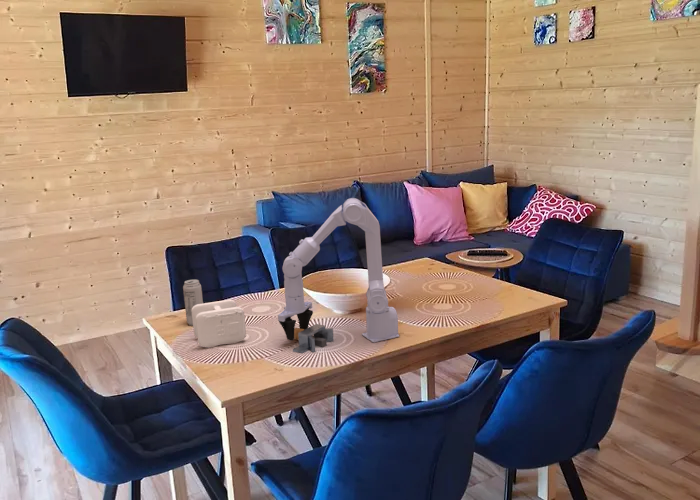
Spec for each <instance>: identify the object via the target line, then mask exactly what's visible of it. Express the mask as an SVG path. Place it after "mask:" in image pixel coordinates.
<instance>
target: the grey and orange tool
mask: <svg viewBox="0 0 700 500" xmlns="http://www.w3.org/2000/svg"><path fill="white" fill-rule="evenodd" d="M303 330H304V329H300V327H295V328H294V340H297V341H299V337H298V333H299V332H301V331H303ZM311 336H312V337H313V338H314V339H315V347H318V348H324V347H327V343H328V342H327V341H326V339H324V338H320V337H316V336H314V335H311Z"/></svg>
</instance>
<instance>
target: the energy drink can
mask: <svg viewBox="0 0 700 500" xmlns="http://www.w3.org/2000/svg"><path fill="white" fill-rule="evenodd" d="M182 289H183V291H182V292H183V301H184V308H185V309H184V310H185V317H186V318H185V319H186V323H187V324H188V325H189V326H192V327H193V320H192V311H191V310H192V307H193V306H195V305H197V304H203V303H204V301H203V290H202V285H201V283H200V280H199V279H188V280H185V281H184V284H183V286H182Z"/></svg>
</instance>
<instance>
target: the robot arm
mask: <svg viewBox="0 0 700 500" xmlns="http://www.w3.org/2000/svg"><path fill="white" fill-rule="evenodd" d="M379 222H380V221H379V220H378V219H377V217H376V216H375V215H374V214H373V212H372V210H370V209H369V207H368V206H367V204H366V203H365V202H363V201H361V200H360V199H358V198H355V197H350V198H348V199H345V200H344V203H343V204H341V205H339V206H338V207H337V208H336V209H335V210H334V211H333V212H331V214H330V215H329V217H328V218H327V219H326V220H325V221H324V223H323V224H322V225H321V226H320V227H319V228H318V230H316V232H315V233H314V234H313V236H309V237H305V238H304V239H300V240H299V242H298V243H299V244H298V245H297V247H296V248H295V249H294V250H293V251H290V252H289V254H288V256H287V257H286V258H285V259H284V260H283V265H282V272H283V273H282V274H284V275H283V279H284V281H283V285H284V287H283V288H284V295H285V296H284V297H285V299H284V300H285V306H284V307H283V310H282V312H280V313H279V314H277V319H278V323H279V324H280V325H281V327H282V329H283V331H284V334H285V336H286V339H287V341H294V340H295V339H294V328H296V322H297V320H298V328H300V329H304V330H305V329H307V328H309V325H310V321H311V319H312V316H313V314H314V312H313V310H311V309H313V302H312V301H305V296H304V295H305V293H304V280H303V276H302V275H303V274H302V271H303V267H305V266H307V265H308V264H309V263H310V262H311V261H312V259H313V258H315V256H316V255H318V253H319V252H320V250H321V246H320V244H322V242H323V241H324V240H325V239H327V238H328V236H329V235H330V234H332V232H333V231H334V230H336V228H337V227H342V226H346V225H347V223H348V224H351V225H355V226H358V228H360V229H361V230H362V231H364V234H365V235H364V237H365V248H366V249H365V250H366V263H367V265H366V266H367V275H368V276H367V278H368V281H367V282H368V288H367V290H366V293H365V296H366V300H367V303H366V304H367V306H366V307H365V316H366V317H365V318H366V319H365V320H366V332H363V333H361V335H362V337H364V338H366V339H367V340H369V341H370V342H372V343H377V342H382V341H387V340H390V339H394V338H395V339H396V338H399V337H400V335H399V317H398V313H397V310H396V308H395V307H393V306H389V300H388V297H387V291H386V288H385V286H384V273H383V272H384V271H383V260H382V259H383V258H382V257H383V256H382V242H381V240H382V239H381V226H380V223H379ZM294 316H296V317H297V320H296V319H293V318H292V317H294Z"/></svg>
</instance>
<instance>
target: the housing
mask: <svg viewBox="0 0 700 500" xmlns="http://www.w3.org/2000/svg"><path fill="white" fill-rule="evenodd" d="M311 335H312V336H316V337H320V338H324V339H326V341H327V343H328V342H334V340H335V339H334V328H333V327H332V328H331V327H329V328H328V327H326V325H324V324H320V323H314V324H313V325H311V326H308V328H307V329H305V330H303V331H301V332H299V333H298V337H299V340H298V346H296V347H294V348H292V352H294V353H300V354H303V353H305V352H307V351H310V352H311V353H316V346H315V339H314V338H313V337H312V336H311Z"/></svg>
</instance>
